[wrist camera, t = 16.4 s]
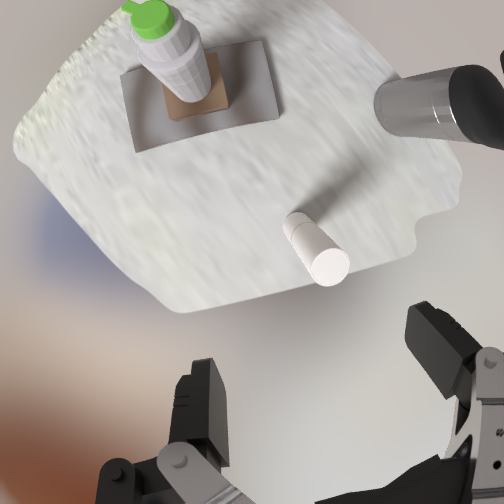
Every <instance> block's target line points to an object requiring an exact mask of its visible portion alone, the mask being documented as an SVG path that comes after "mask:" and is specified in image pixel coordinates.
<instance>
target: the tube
mask: <svg viewBox="0 0 504 504" xmlns="http://www.w3.org/2000/svg"><path fill="white" fill-rule="evenodd" d="M283 230H284V232H285V234H286V236H287V237H288V239H289V240H290V242H291V244H292V245H293V247H294V248H295V250H296V252H297V253H298V255H299V256H300V258H301V260H302V261H303V263H304V265H305V266H306V268H307V269H308V271H309V273H310V274H311V276H312V278H313V279H314V281H315V282H316V283H318V284H319V285H322V286H333V285H336V284H338V283H339V282H341V281H342V280H343V279H344V278H345V276H346V275H347V273H348V271H349V267H350V261H349V258H348V256H347V254H346V253H345V252H344V251H343V250H342V249H341V248H340V247H339V246H338V245H337V244H336V243H335V242H334V241H333V240H332V239H331V238H330V237H329V236H328V235H327V234H326V233H325V232H324V231H323V230H322V229H321V228H319V227H318V226H317V225H316V224H315V223H314V222H313V221H312V220H311V219H310V218H309V217H308V216H307V215H306V214H304V213H302V212H294V213H291V214H290V215H288V216H287V217H286V219H285V220H284V223H283Z"/></svg>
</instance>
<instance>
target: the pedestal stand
mask: <svg viewBox="0 0 504 504" xmlns="http://www.w3.org/2000/svg"><path fill="white" fill-rule="evenodd" d="M204 54H205V58H206V62H207V66H208V70H209V75H210V79H211V89H210V91H209V93H208V95H207V96H205V97H204V98H203V99H201V100H200V101H197V102H185V101H183V100H181V99H179V98H178V97H177V96H176V95H175V94H174V93H173V92H172V91H171V90H170V89H169V88H168V87H167V86H165V85H164V84H163V83H162V82H161V81H160V80H159V79H158V78H157V77H156V76H155V75H153V74H152V73H151V72H150V71H149V70H148V69H147V68H146V67H142V68H139V69H136V70H133V71H131V72H128V73H125V74H123V75H120V78H121V84H122V90H123V95H124V101H125V106H126V111H127V116H128V121H129V126H130V130H131V135H132V139H133V144H134V148H135V152H136V153H138V152H141V151H145V150H148V149H151V148H154V147H157V146H161V145H164V144H167V143H171V142H175V141H178V140H182V139H185V138H189V137H193V136H197V135H201V134H205V133H209V132H214V131H218V130H222V129H227V128H232V127H236V126H241V125H246V124H252V123H257V122H263V121H269V120H275V119H279V118H280V117H279V112H278V107H277V103H276V98H275V94H274V89H273V85H272V80H271V76H270V72H269V67H268V63H267V59H266V55H265V51H264V47H263V43H262V40H258V41H250V42H243V43H237V44H231V45H225V46H220V47H215V48H210V49H206V50H204Z"/></svg>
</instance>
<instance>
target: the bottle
mask: <svg viewBox="0 0 504 504" xmlns="http://www.w3.org/2000/svg"><path fill="white" fill-rule="evenodd" d="M121 10H122V11H124V12H127V13H129V14H132V16H131V25H132V26H131V36H132V38H133V39H134V41H135V43H136V44H137V57H138V58H139V60H140V62H141V64H142V65H143V66H145V67H146V68H147V69H148V70H149V71H150V72H151V73H152V74H153V75H155V76H156V77H157V78H158V79H159V80H160V81H161V82H162V83H163V84H164V85H165V86H167V87H168V88H169V89H170V90H171V91H172V92H173V93H174V94H175V95H176V96H177V97H178V98H179V99H181V100H183V101H185V102H197V101H200V100H201V99H203V98H204V97H205V96H207V95H208V93H209V91H210V89H211V79H210V75H209V70H208V66H207V62H206V58H205V54H204V50H203V45H202V41H201V37H200V33H199V31H198V30H197V28H196V26H195V25H193V24H192V23H191V22H189V21H187V20H184V18H183V16H182V15H181V13H180V11H179V10H178V9H177V8H175V7H174V6H171V5H168V4H167V3H166V2H164V1H162V0H150V1H146V2H144V3H143V4H141V5H140V4H137V3H135V2H132V1H130V0H128V1H127V2H126V3H125V4H124V5H123V6H122V7H121Z"/></svg>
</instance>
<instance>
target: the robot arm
mask: <svg viewBox="0 0 504 504" xmlns="http://www.w3.org/2000/svg"><path fill="white" fill-rule="evenodd" d="M500 61H501V66H502V70H503V73H504V51H503V52H502V53H501V55H500ZM374 109H375V113H376V116H377V118H378V121H379V122H380V124H381V125H382V126H383V127H384V129H385V130H387V131H388V132H389V133H391V134H393V135H395V136H403V137H418V138H432V139H443V140H453V141H463V142H470V143H477V144H483V145H486V146H488V147H491V148H496V149H501V150H504V88H503V87H502V85H501V83H500V82H499V81H498V79H497V78H496V77H495V76H494V75H493V74H492V73H491V72H490V71H489V70H488V69H486V68H484V67H482V66H479V65H465V66H459V67H453V68H448V69H444V70H438V71H433V72H429V73H425V74H420V75H416V76H411V77H407V78H404V79H399V80H395V81H392V82H388V83H385V84H383V85H382V86H381V87H380V88H379V89H378V90H377V92H376V95H375V98H374ZM405 342H406V344H407V347H408V348H409V350H410V351H411V352H412V354H413V355H414V356H415V358H416V359H417V360H418V362H419V363H420V364H421V365H422V367H423V368H424V370H425V371H426V372H427V374H428V375H429V377H430V378H431V379H432V381H433V382H434V383H435V385H436V386H437V387H438V389H439V390H440V392H441V393H442V395H443V396H444V398H445V399H448V398H450V397H452V396H453V395H456V397H457V400H456V404H455V413H454V421H453V428H452V434H451V440H450V443H449V446H448V448H447V451H446V453H445V456H444V459H440V458H439V456H438V454H437V455H435V456H433V457H431V458H429V459H427V460H425V461H424V462H421V463H420V464H418V465H416V466H413V467H411V468H410V469H409V470H407V471H406V472H405V473H403V474H402V475H401V476H399V477H398V478H397V479H395V480H394V481H392V482H391V483H390V484H388V485H387V486H385V487H383V488H379V489H373V490H367V491H359V492H350V493H346V494H342V495H339V496H336V497H332V498H328V499H325V500H321V501H317V502H315V504H504V353H502V352H501V351H500V350H498V349H497V348H493V347H485V348H483V347H482V346H481V345H480V344H479V343H478V342H477V341H476V340H475V339H474V338H473V337H472V336H471V335H470V334H469V333H468V332H467V331H466V330H465V329H464V328H462V327H461V325H460V324H459V323H458V322H456V321H455V319H454V318H452V317H451V316H450V315H449V314H448V313H447V312H444V311H442V310H440V309H435V308H434V307H433V306H432V305H431V304H430V303H428V302H427V301H423V302H420V303H418V304H415V305H412V306H410V307H409V309H408V315H407V322H406V330H405ZM174 397H175V399H174V404H173V407H174V408H173V411H172V419H171V427H170V435H169V442H168V445H167V446H165V447H164V448H163V449H162V450H161V451H160V452H159V454H158V456H157V457H155V458H152V459H149V460H146V461H142V462H138V463H134V464H131V463H130V462H129V461H128V460H126V459H123V458H114V459H111V460H109V461H107V462H106V463H105V464H104V465H103V466H102V468H101V470H100V474H99V480H98V488H97V494H96V502H95V504H255V503H254V502H253V501H252V500H251V499H249V498H248V497H247V496H246V495H245V494H243V493H242V492H241V491H240V490H239V489H237V488H236V487H234V486H233V485H232V484H231V483H230V482H229V481H228V480H226V479H225V478H224V477H223V476H222V475H221V467H229V448H228V426H227V403H226V402H227V401H226V391H225V387H224V384H223V381H222V379H221V376H220V374H219V372H218V369H217V367H216V364H215V362H214V360H213V358H207V359H201V360H194V361H193V362H192V369H191V375H183V376H182V377H181V379H180V380H179V382H178V384H177V385H176V389H175V396H174Z"/></svg>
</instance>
